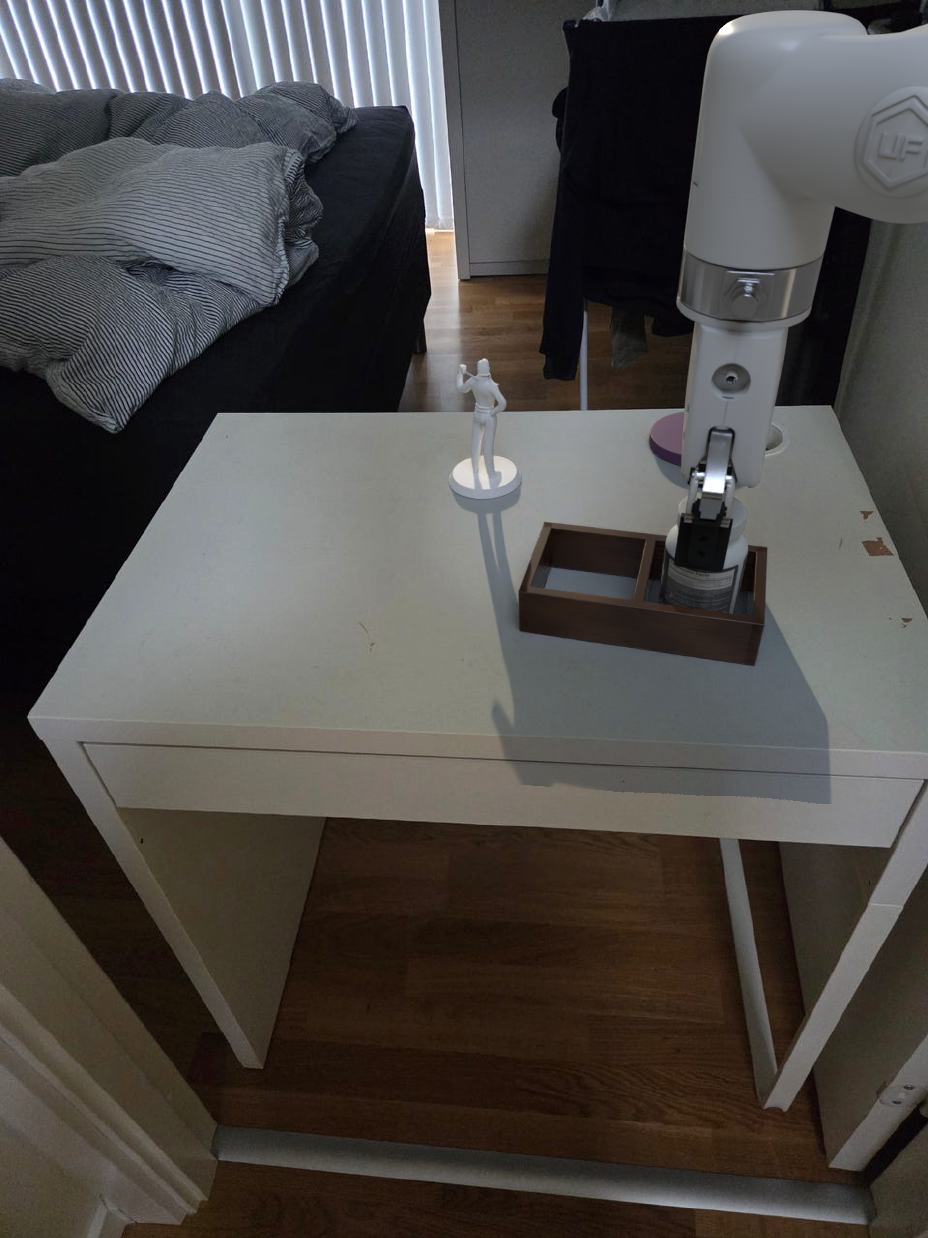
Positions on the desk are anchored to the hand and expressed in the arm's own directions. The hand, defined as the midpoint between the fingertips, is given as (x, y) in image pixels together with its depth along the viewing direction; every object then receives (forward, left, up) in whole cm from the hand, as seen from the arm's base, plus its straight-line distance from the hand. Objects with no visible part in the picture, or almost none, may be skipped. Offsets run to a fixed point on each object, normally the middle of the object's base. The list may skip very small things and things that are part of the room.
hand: (703, 524), depth 59 cm
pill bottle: (0, 0, -9) cm, 9 cm away
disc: (+2, -26, -9) cm, 27 cm away
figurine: (+21, -16, -9) cm, 28 cm away
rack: (+4, 0, -9) cm, 9 cm away
